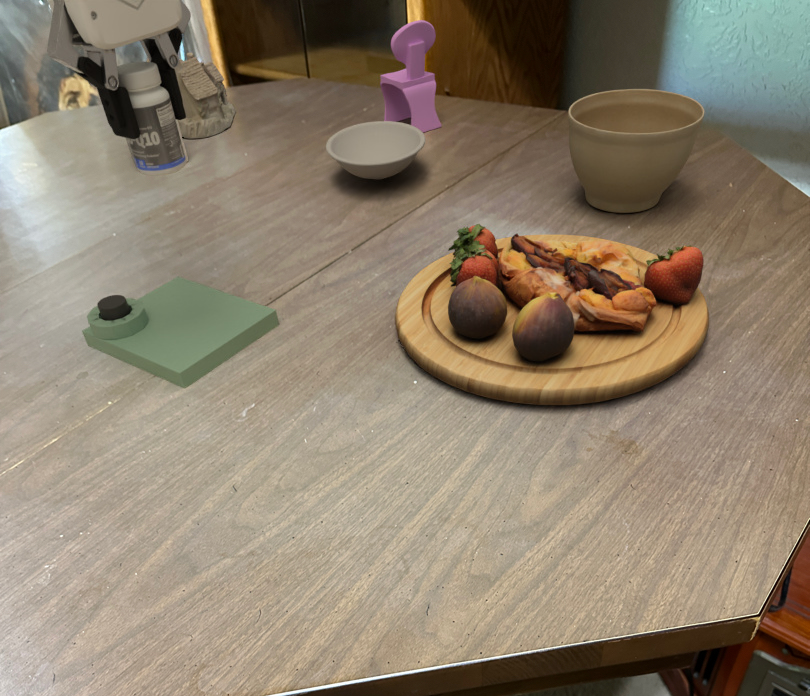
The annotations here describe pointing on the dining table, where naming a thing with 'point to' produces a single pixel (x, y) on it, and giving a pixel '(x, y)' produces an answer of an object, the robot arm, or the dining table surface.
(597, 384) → the wooden plate
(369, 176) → the dish
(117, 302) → the button
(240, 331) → the scale
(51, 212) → the dining table surface
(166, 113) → the pill bottle
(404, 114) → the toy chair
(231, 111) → the ceramic cottage
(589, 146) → the planter bowl
